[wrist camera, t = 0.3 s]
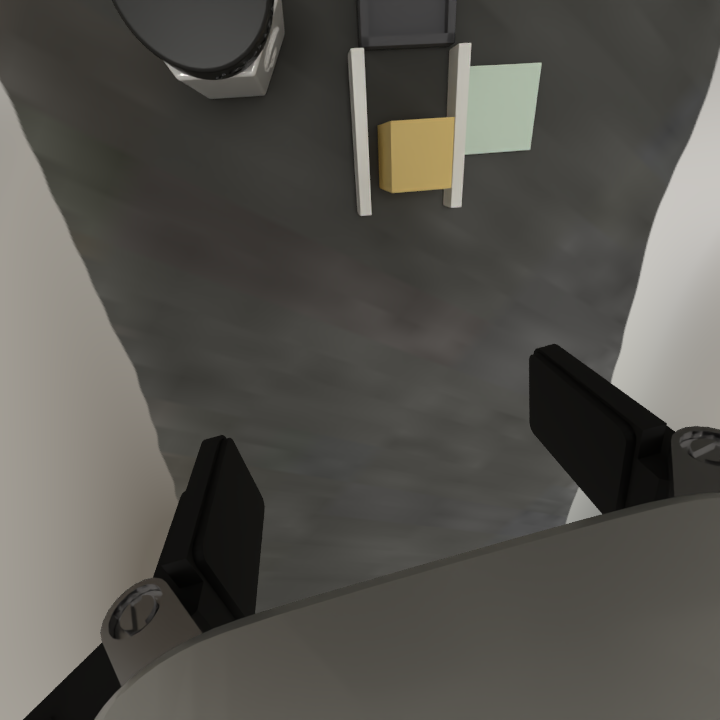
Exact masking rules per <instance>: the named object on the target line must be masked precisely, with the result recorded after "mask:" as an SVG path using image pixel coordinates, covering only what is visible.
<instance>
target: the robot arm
mask: <svg viewBox="0 0 720 720" xmlns="http://www.w3.org/2000/svg"><path fill="white" fill-rule="evenodd" d="M529 409H530V427H531V430H532V432H533V433H534V435H535V436H536V437H537V438H538V439H539V440H540V442H541V443H542V444H543V445H544V446H545V447H546V449H547V450H548V451H549V452H550V453H551V454H552V456H553V457H554V458H555V459H556V460H557V461H558V463H559V464H560V465H561V466H562V467H563V468H564V470H565V471H566V472H567V473H568V474H569V475H570V477H571V478H572V479H573V480H574V481H575V482H576V484H577V485H578V486H579V487H580V488H581V490H582V491H583V492H584V493H585V494H586V495H587V496H588V498H589V499H590V500H591V501H592V502H593V504H594V505H595V506H596V507H597V508H598V509H599V510H600V512H601V513H602V515H598V516H594V517H591V518H587V519H583V520H580V521H576V522H572V523H569V524H565V525H562V526H558V527H554V528H551V529H547V530H544V531H540V532H536V533H533V534H529V535H526V536H522V537H518V538H515V539H511V540H508V541H504V542H501V543H497V544H493V545H490V546H486V547H483V548H479V549H476V550H472V551H469V552H465V553H462V554H458V555H455V556H451V557H448V558H444V559H441V560H437V561H434V562H430V563H427V564H423V565H420V566H416V567H413V568H409V569H406V570H402V571H399V572H395V573H391V574H388V575H385V576H381V577H378V578H374V579H371V580H367V581H364V582H361V583H357V584H354V585H350V586H347V587H343V588H340V589H336V590H333V591H330V592H326V593H323V594H319V595H316V596H312V597H309V598H305V599H302V600H299V601H296V602H292V603H289V604H286V605H283V606H279V607H276V608H273V609H270V610H266V611H263V612H260V613H257V614H255V607H256V596H257V585H258V574H259V563H260V553H261V542H262V531H263V520H264V501H263V498H262V496H261V494H260V492H259V490H258V488H257V486H256V484H255V482H254V480H253V478H252V476H251V474H250V472H249V470H248V468H247V466H246V465H245V463H244V461H243V459H242V457H241V455H240V453H239V451H238V449H237V447H236V445H235V443H234V441H233V440H232V439H231V438H228V439H226V437H225V436H224V435H220V436H217V437H213V438H209V439H206V440H204V441H203V442H202V444H201V447H200V450H199V453H198V456H197V459H196V462H195V465H194V468H193V471H192V474H191V477H190V480H189V483H188V486H187V489H186V491H185V492H183V493H182V495H181V497H180V500H179V503H178V506H177V509H176V512H175V515H174V518H173V521H172V524H171V526H170V529H169V532H168V535H167V538H166V541H165V544H164V547H163V550H162V553H161V556H160V559H159V561H158V565H157V567H156V570H155V573H154V576H153V578H149V579H144V580H142V581H140V582H138V583H136V584H134V585H133V586H131V587H130V588H129V589H127V590H126V591H125V592H124V593H123V594H122V595H121V596H120V597H119V598H118V599H117V600H116V601H115V602H114V603H113V605H112V606H111V608H110V609H109V610H108V612H107V614H106V616H105V618H104V620H103V623H102V627H101V632H100V633H101V640H102V643H101V644H100V645H99V646H98V647H97V648H96V649H95V650H94V651H93V652H92V653H91V654H90V655H89V656H88V657H87V658H86V659H85V660H84V661H83V662H82V663H81V664H80V665H79V666H78V667H77V668H75V669H74V670H73V672H71V673H70V674H69V675H68V676H67V677H66V678H65V679H64V680H63V681H62V682H61V683H60V684H59V685H58V686H57V687H56V688H55V689H54V690H53V691H52V692H51V693H50V694H49V695H48V696H47V697H46V698H45V699H44V700H43V701H42V702H41V703H40V704H39V705H38V706H37V707H36V708H34V709H33V710H32V711H31V712H30V713H29V715H27V716H26V717H25V718H24V719H23V720H720V430H719V429H715V428H710V427H699V426H694V427H685V428H682V429H680V430H677V431H676V432H675V431H673V430H672V429H670V428H669V427H668V426H667V423H665V422H664V421H662V420H661V419H659V418H658V417H657V416H655V415H654V414H653V413H651V412H650V411H649V410H647V409H646V408H644V407H643V406H642V405H640V404H639V403H637V402H636V401H635V400H633V399H632V398H630V397H629V396H628V395H626V394H625V393H624V392H622V391H621V390H619V389H618V388H617V387H615V386H614V385H612V384H611V383H610V382H608V381H607V380H606V379H604V378H603V377H601V376H600V375H599V374H597V373H596V372H594V371H593V370H592V369H590V368H589V367H588V366H586V365H585V364H583V363H582V362H581V361H579V360H578V359H576V358H575V357H574V356H572V355H571V354H569V353H568V352H567V351H565V350H564V349H563V348H561V347H560V346H558V345H556V344H552V345H548V346H545V347H541V348H537V349H536V350H535V351H534V354H533V355H531V356H530V358H529Z"/></svg>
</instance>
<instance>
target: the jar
mask: <svg viewBox="0 0 720 720" xmlns="http://www.w3.org/2000/svg"><path fill="white" fill-rule="evenodd" d="M112 2H113V4H114V6H115V7H116V9H117V11H118V13H119V15H120V16H121V18H122V19H123V21H124V22H125V24H126V25H127V27H128V28H129V29H130V30H131V32H132V33H133V34H134V35H135V36H136V38H137V39H138V40H139V41H140V42H141V43H142V44H143V45H144V46H145V47H146V48H147V49H149V50H150V51H151V52H152V53H153V54H155V55H156V56H158V57H159V58H160V59H162V60H163V61H164V62H165V64H166V65H167V66H168V68H169V69H170V70H171V72H172V73H173V74H174V76H175V77H176V78H177V79H178V80H179V81H181V82H183V83H184V84H186V85H187V86H189V87H191V88H192V89H194V90H196V91H197V92H199V93H200V94H202V95H204V96H205V97H207V98H208V99H218V98H234V97H250V96H264V95H265V94H266V92H267V89H268V86H269V82H270V79H271V76H272V73H273V70H274V67H275V63H276V60H277V57H278V54H279V51H280V48H281V45H282V41H283V38H284V35H285V28H284V18H283V7H282V0H112Z"/></svg>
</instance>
